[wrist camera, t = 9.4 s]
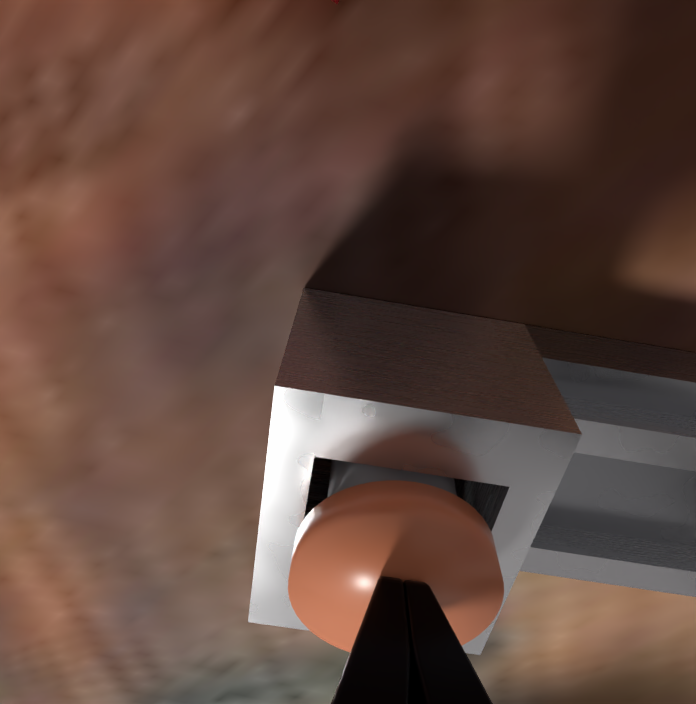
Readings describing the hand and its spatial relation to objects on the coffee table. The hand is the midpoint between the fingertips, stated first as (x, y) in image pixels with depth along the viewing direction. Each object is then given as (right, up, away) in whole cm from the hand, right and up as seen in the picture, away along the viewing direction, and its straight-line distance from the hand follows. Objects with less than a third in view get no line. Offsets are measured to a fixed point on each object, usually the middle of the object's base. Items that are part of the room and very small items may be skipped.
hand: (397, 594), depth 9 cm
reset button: (0, +2, +4) cm, 5 cm away
